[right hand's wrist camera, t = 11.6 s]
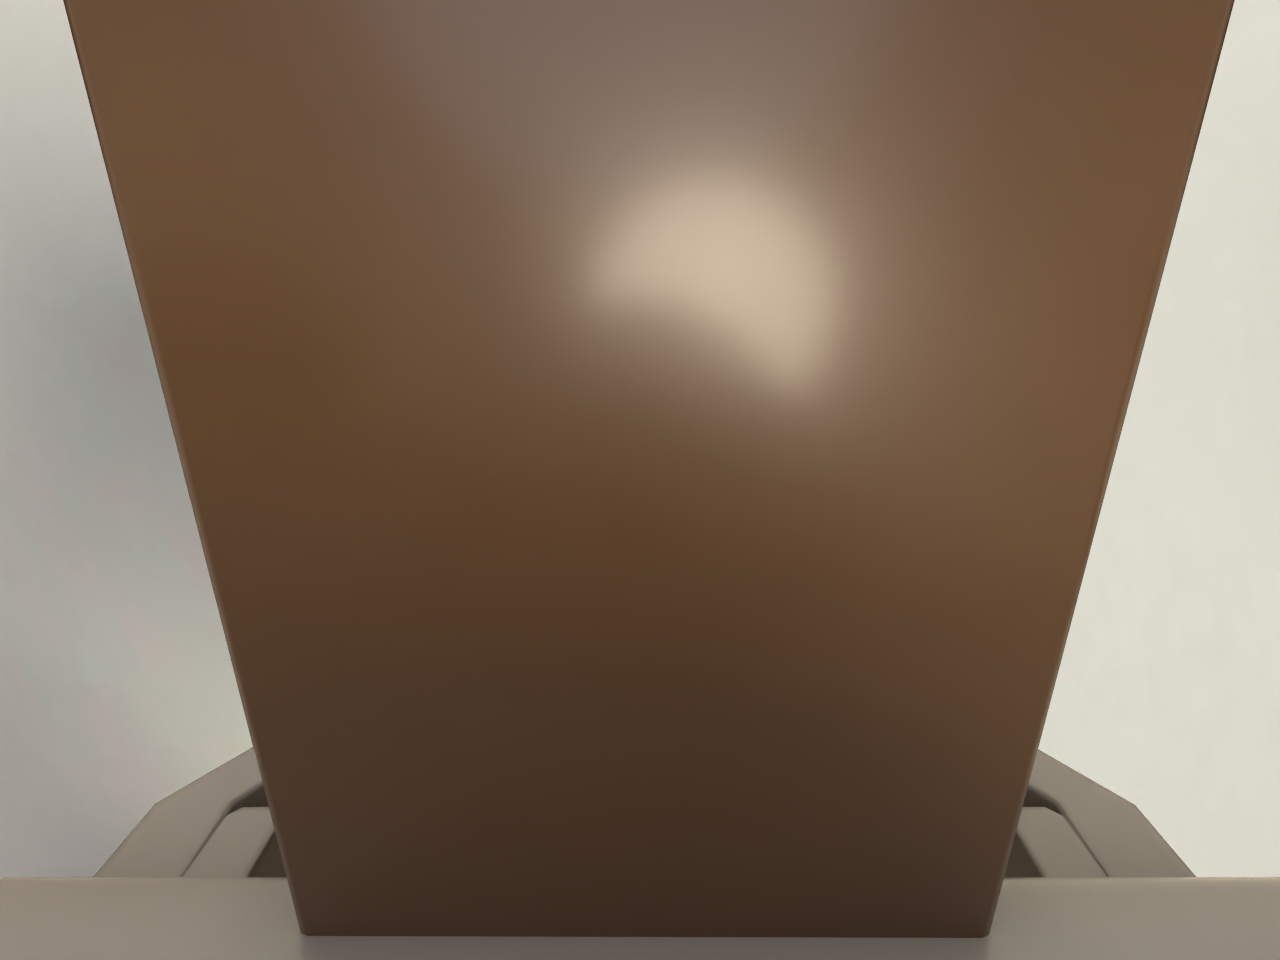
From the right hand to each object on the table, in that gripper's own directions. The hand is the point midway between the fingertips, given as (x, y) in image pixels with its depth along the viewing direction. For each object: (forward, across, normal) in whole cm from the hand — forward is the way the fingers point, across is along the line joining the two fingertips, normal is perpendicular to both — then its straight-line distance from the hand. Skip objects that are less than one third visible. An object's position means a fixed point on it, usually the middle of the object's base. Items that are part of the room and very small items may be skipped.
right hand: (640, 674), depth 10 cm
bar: (+3, 0, -10) cm, 10 cm away
